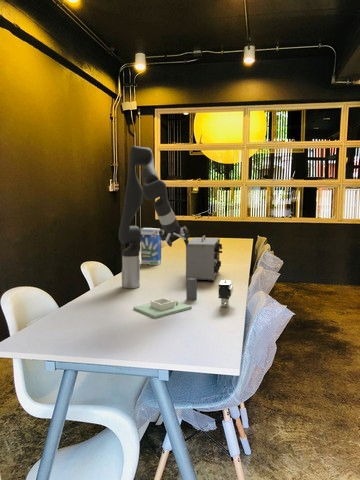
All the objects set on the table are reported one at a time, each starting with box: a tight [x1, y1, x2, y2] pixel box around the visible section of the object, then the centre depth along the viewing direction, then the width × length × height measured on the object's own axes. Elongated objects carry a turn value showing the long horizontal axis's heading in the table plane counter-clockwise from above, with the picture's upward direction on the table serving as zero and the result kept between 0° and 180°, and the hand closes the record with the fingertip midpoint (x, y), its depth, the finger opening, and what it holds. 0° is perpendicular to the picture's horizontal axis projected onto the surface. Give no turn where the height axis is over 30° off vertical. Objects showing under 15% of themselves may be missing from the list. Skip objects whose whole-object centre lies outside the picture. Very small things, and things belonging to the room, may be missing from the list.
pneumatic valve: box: [218, 279, 234, 308], centre depth 166 cm, size 6×12×12 cm, turn 166°
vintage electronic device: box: [185, 235, 223, 283], centre depth 225 cm, size 32×18×25 cm, turn 168°
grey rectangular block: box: [185, 278, 198, 301], centre depth 177 cm, size 4×4×10 cm
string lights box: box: [140, 227, 162, 266], centre depth 266 cm, size 13×8×26 cm, turn 73°
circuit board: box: [133, 297, 193, 319], centre depth 163 cm, size 20×16×4 cm
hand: (179, 244), depth 180 cm, fingers open, 8 cm apart
